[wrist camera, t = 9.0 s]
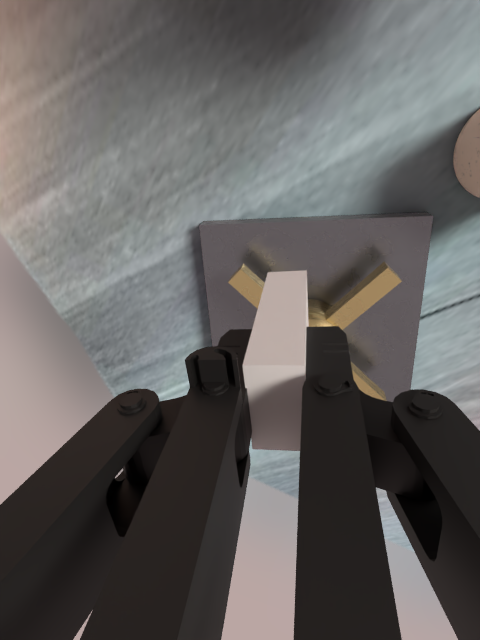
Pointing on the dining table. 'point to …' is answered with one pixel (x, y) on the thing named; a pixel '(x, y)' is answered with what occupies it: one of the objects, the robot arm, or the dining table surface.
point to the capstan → (336, 315)
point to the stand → (329, 278)
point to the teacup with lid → (469, 155)
